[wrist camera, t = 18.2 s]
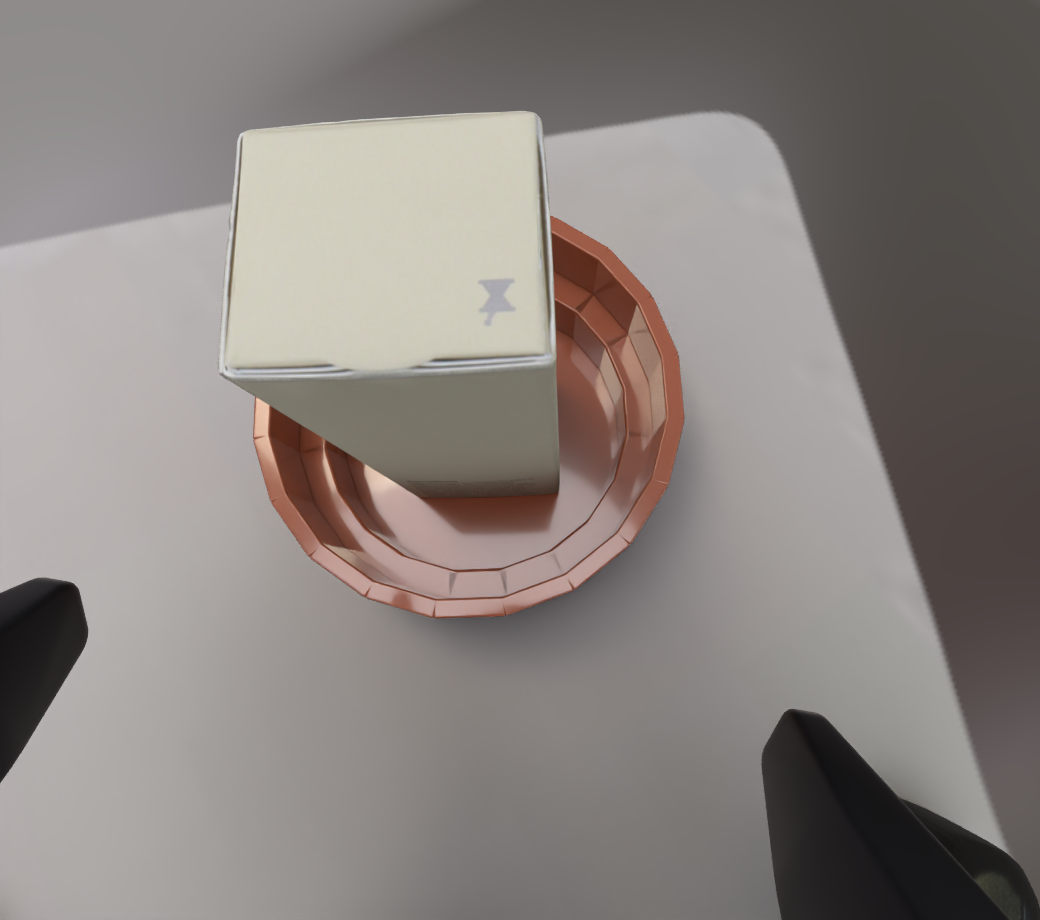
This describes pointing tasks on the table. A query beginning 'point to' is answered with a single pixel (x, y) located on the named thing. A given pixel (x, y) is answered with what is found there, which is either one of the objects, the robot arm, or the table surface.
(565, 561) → the bowl
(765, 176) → the table surface
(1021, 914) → the mobile phone
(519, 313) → the box
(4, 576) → the table surface
